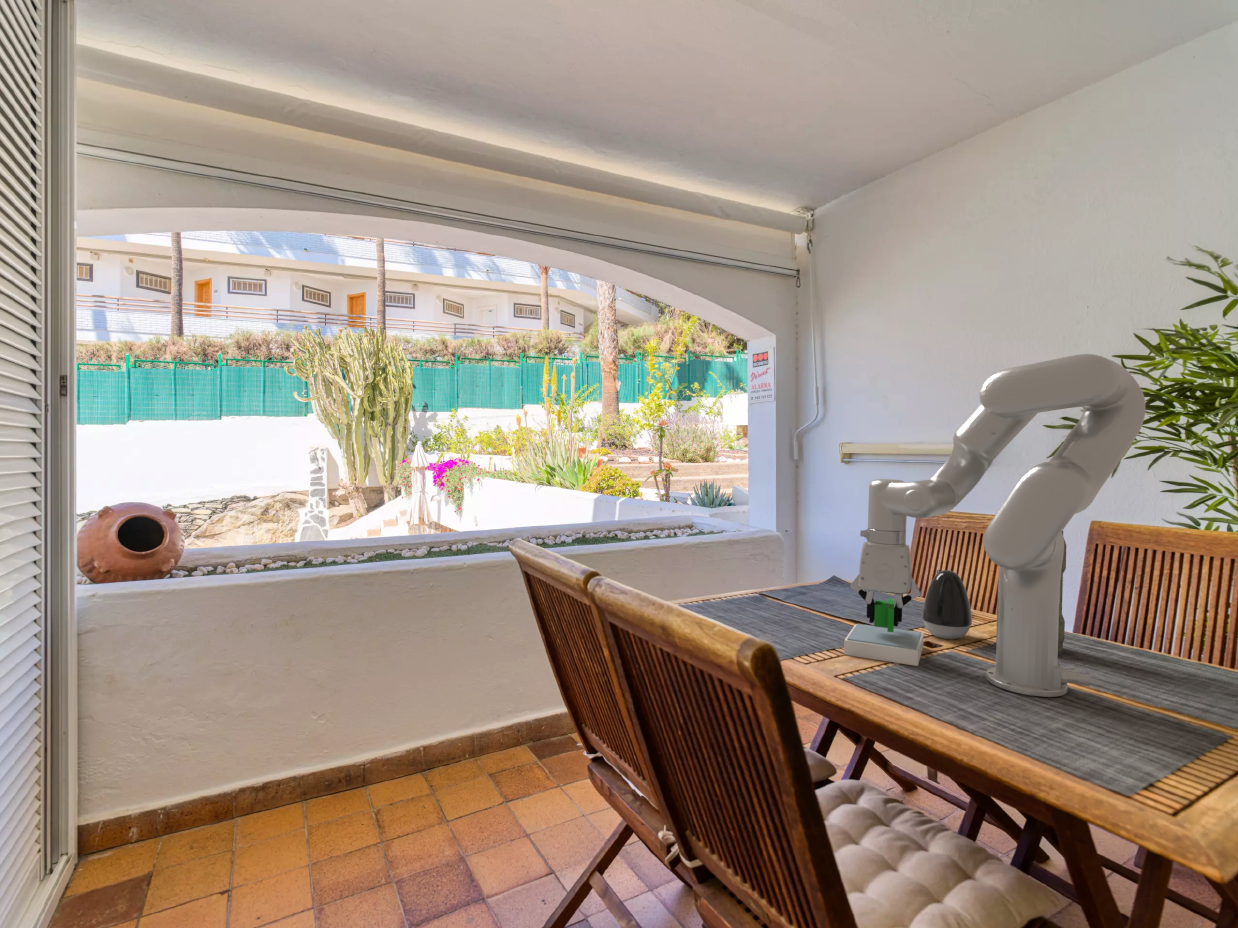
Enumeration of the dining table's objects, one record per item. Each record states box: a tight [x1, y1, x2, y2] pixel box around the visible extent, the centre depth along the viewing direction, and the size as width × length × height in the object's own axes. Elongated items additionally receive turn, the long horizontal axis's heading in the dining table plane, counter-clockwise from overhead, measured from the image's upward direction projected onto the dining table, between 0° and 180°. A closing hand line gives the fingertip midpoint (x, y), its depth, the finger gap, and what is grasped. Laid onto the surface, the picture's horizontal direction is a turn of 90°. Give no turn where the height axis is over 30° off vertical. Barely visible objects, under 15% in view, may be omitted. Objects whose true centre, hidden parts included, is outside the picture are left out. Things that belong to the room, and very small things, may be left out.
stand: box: [843, 623, 924, 667], centre depth 137 cm, size 14×14×3 cm
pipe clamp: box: [873, 598, 895, 632], centre depth 137 cm, size 11×4×5 cm, turn 157°
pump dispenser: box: [921, 569, 973, 640], centre depth 148 cm, size 10×10×15 cm
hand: (884, 622), depth 137 cm, fingers closed on pipe clamp, 4 cm apart
